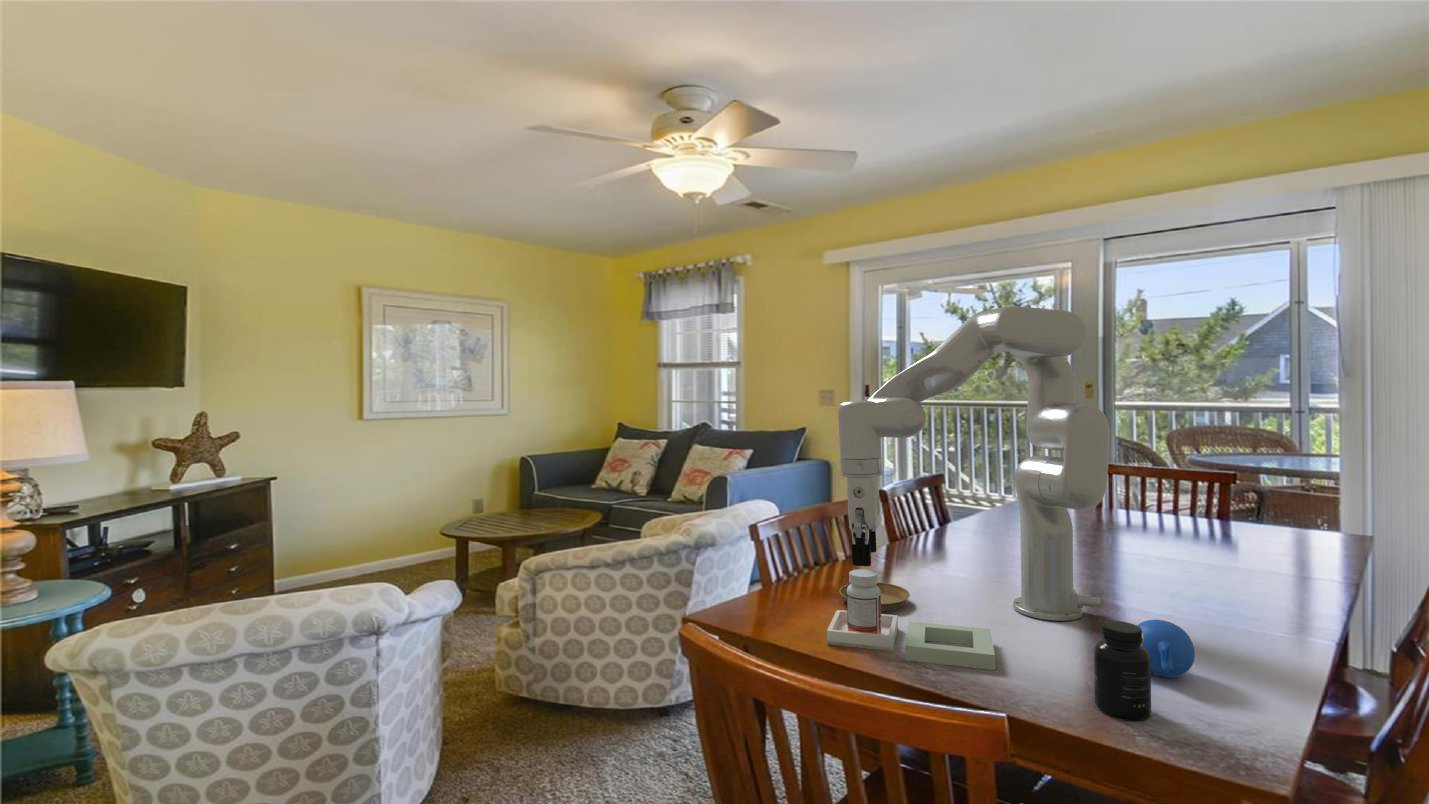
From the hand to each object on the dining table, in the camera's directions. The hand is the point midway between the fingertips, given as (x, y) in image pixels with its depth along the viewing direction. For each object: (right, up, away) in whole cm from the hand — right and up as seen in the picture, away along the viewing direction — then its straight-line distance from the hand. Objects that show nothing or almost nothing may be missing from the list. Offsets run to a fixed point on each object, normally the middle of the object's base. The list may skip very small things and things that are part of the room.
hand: (865, 558), depth 122 cm
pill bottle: (0, -14, 0) cm, 14 cm away
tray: (0, -15, 0) cm, 15 cm away
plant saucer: (+6, -15, +19) cm, 25 cm away
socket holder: (+13, -14, -8) cm, 21 cm away
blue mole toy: (+41, -14, -18) cm, 47 cm away
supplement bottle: (+30, -15, -30) cm, 44 cm away
